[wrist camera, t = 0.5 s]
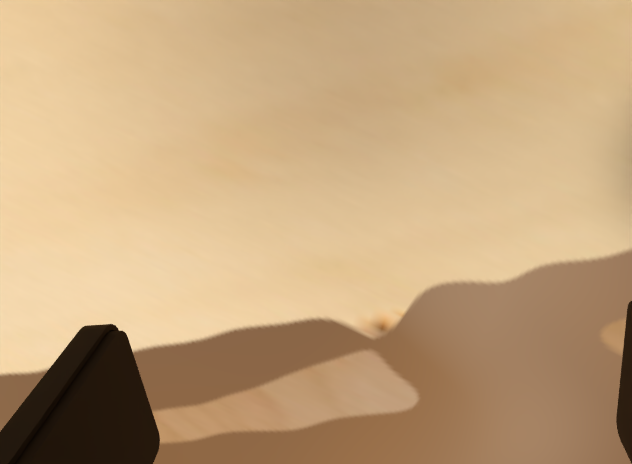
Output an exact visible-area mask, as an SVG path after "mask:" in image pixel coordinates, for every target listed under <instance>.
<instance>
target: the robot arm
mask: <svg viewBox="0 0 632 464" xmlns="http://www.w3.org/2000/svg"><path fill="white" fill-rule="evenodd" d="M617 429H618V434H619V437H620V439H621V442H622V444H623V446H624V448H625V450H626V452H627V455H628V457H629V459H630V461H631V463H632V301H631V302H630V303H629V305H628V309H627V319H626V329H625V338H624V348H623V358H622V368H621V378H620V388H619V399H618V409H617ZM159 443H160V438H159V432H158V429H157V426H156V422H155V419H154V416H153V413H152V410H151V407H150V404H149V401H148V398H147V395H146V392H145V389H144V386H143V383H142V380H141V377H140V374H139V370H138V367H137V364H136V361H135V358H134V355H133V352H132V349H131V346H130V343H129V340H128V337H127V335H126V333H125V332H123V331H119V330H118V328H117V327H116V326H115V325H113V324H107V325H91V326H84V327H82V328H81V329H80V330H79V332H78V333H77V334H76V336H75V337H74V338H73V339H72V341H71V342H70V343H69V344H68V346H67V347H66V348H65V350H64V351H63V352H62V353H61V355H60V356H59V357H58V359H57V360H56V361H55V362H54V364H53V365H52V366H51V368H50V369H49V370H48V371H47V373H46V374H45V375H44V377H43V378H42V379H41V380H40V382H39V383H38V384H37V386H36V387H35V388H34V389H33V391H32V392H31V393H30V395H29V396H28V397H27V398H26V400H25V401H24V402H23V403H22V405H21V406H20V407H19V409H18V410H17V411H16V412H15V414H14V415H13V416H12V418H11V419H10V420H9V421H8V423H7V424H6V425H5V426H4V428H3V429H2V430H1V432H0V464H153V462H154V460H155V457H156V455H157V452H158V449H159Z"/></svg>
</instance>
